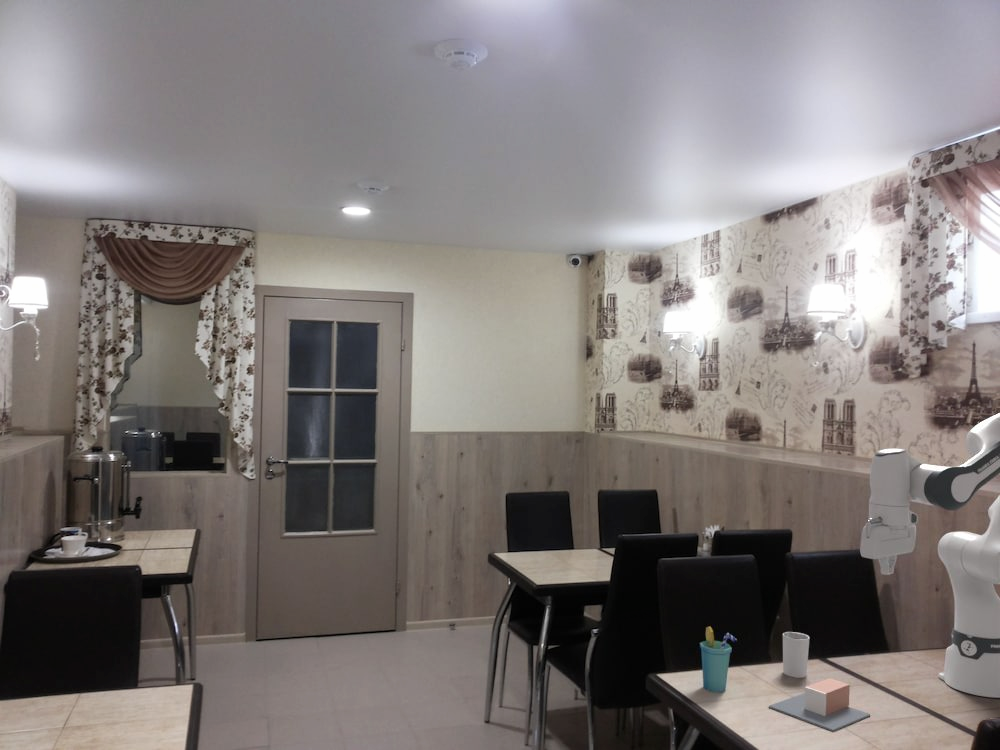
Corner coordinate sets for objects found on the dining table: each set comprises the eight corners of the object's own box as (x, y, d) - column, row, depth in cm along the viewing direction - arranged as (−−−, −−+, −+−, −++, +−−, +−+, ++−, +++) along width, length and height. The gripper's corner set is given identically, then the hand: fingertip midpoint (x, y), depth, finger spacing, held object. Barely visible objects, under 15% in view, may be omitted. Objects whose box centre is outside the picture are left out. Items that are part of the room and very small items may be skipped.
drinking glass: (803, 680, 210) (805, 641, 210) (777, 673, 214) (779, 635, 214) (811, 673, 215) (812, 635, 216) (786, 667, 219) (787, 630, 220)
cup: (747, 698, 195) (749, 635, 196) (720, 701, 193) (722, 637, 193) (713, 678, 208) (715, 619, 209) (686, 681, 206) (689, 621, 206)
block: (829, 678, 196) (804, 687, 189) (849, 684, 192) (825, 693, 185) (829, 699, 196) (804, 708, 189) (848, 705, 192) (824, 716, 185)
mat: (806, 694, 200) (806, 692, 200) (870, 715, 188) (870, 714, 188) (768, 707, 190) (768, 705, 190) (833, 731, 178) (833, 729, 178)
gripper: (880, 521, 187) (878, 581, 187) (921, 515, 200) (919, 572, 200) (853, 517, 192) (852, 575, 192) (895, 511, 205) (894, 567, 205)
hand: (887, 573), depth 196 cm, fingers closed
